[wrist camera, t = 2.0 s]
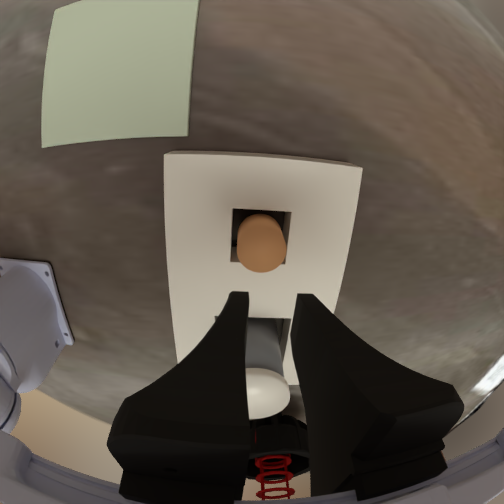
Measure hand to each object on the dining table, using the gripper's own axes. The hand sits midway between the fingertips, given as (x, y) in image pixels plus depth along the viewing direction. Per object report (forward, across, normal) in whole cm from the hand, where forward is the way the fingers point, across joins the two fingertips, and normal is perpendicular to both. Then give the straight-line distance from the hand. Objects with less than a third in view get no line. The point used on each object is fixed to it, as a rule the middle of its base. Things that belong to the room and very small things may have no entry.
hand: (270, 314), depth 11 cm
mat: (+10, +11, -12) cm, 19 cm away
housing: (+10, 0, +4) cm, 11 cm away
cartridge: (+10, 0, +9) cm, 14 cm away
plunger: (+8, 0, 0) cm, 8 cm away
